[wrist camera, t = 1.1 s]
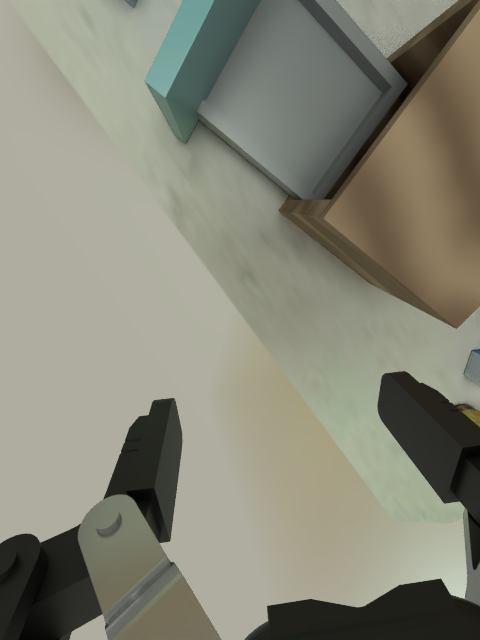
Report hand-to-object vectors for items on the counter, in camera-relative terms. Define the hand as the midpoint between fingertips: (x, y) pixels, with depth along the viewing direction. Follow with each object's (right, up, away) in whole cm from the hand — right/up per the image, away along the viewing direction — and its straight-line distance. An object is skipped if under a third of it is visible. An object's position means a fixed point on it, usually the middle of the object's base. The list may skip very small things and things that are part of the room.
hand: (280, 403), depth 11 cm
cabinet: (+13, +18, +20) cm, 30 cm away
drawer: (+3, +24, +16) cm, 29 cm away
